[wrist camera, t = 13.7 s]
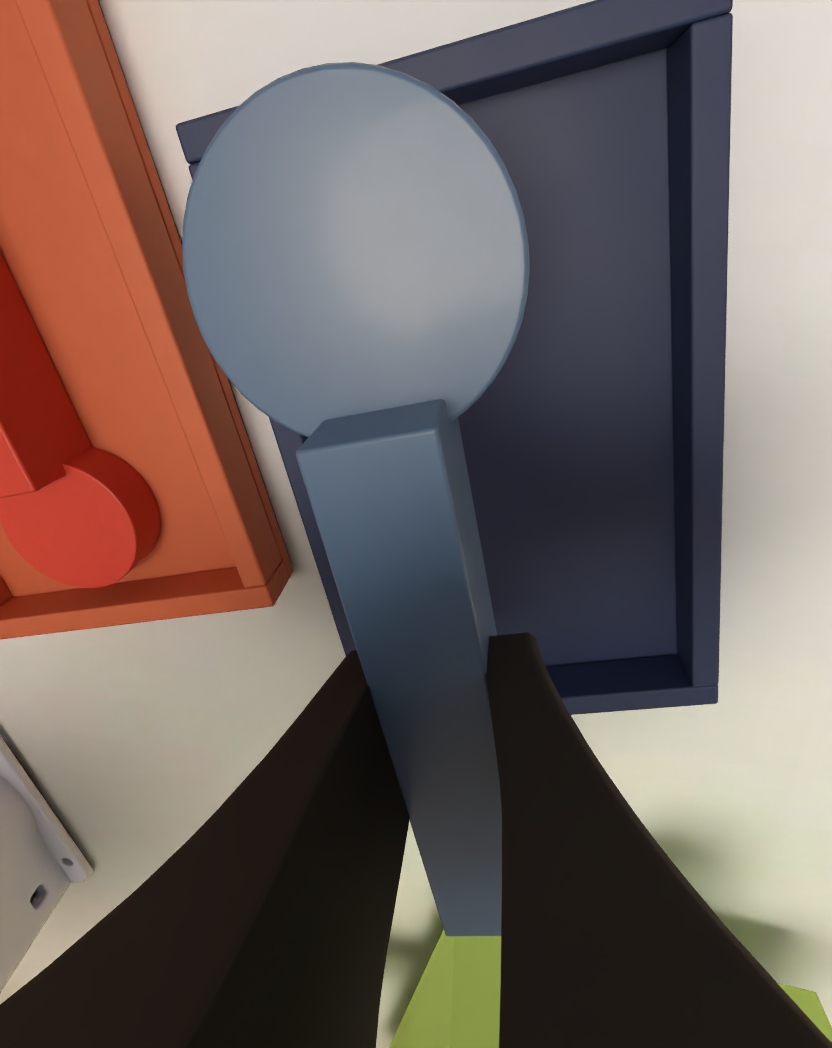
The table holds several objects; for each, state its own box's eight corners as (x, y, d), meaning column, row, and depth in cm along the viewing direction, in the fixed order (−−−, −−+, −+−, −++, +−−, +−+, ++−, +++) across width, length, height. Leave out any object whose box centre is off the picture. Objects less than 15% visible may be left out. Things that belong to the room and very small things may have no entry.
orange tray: (294, 571, 18) (274, 606, 16) (17, 607, 20) (-28, 643, 18) (52, -133, 11) (-27, -202, 10) (-333, 23, 13) (-460, -11, 11)
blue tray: (695, 658, 18) (718, 704, 16) (379, 687, 20) (368, 731, 18) (695, 2, 11) (735, -43, 9) (214, 139, 13) (172, 123, 11)
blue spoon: (586, 799, 12) (612, 936, 9) (398, 808, 12) (379, 938, 10) (498, 49, 7) (508, -53, 4) (184, 142, 7) (45, 95, 5)
